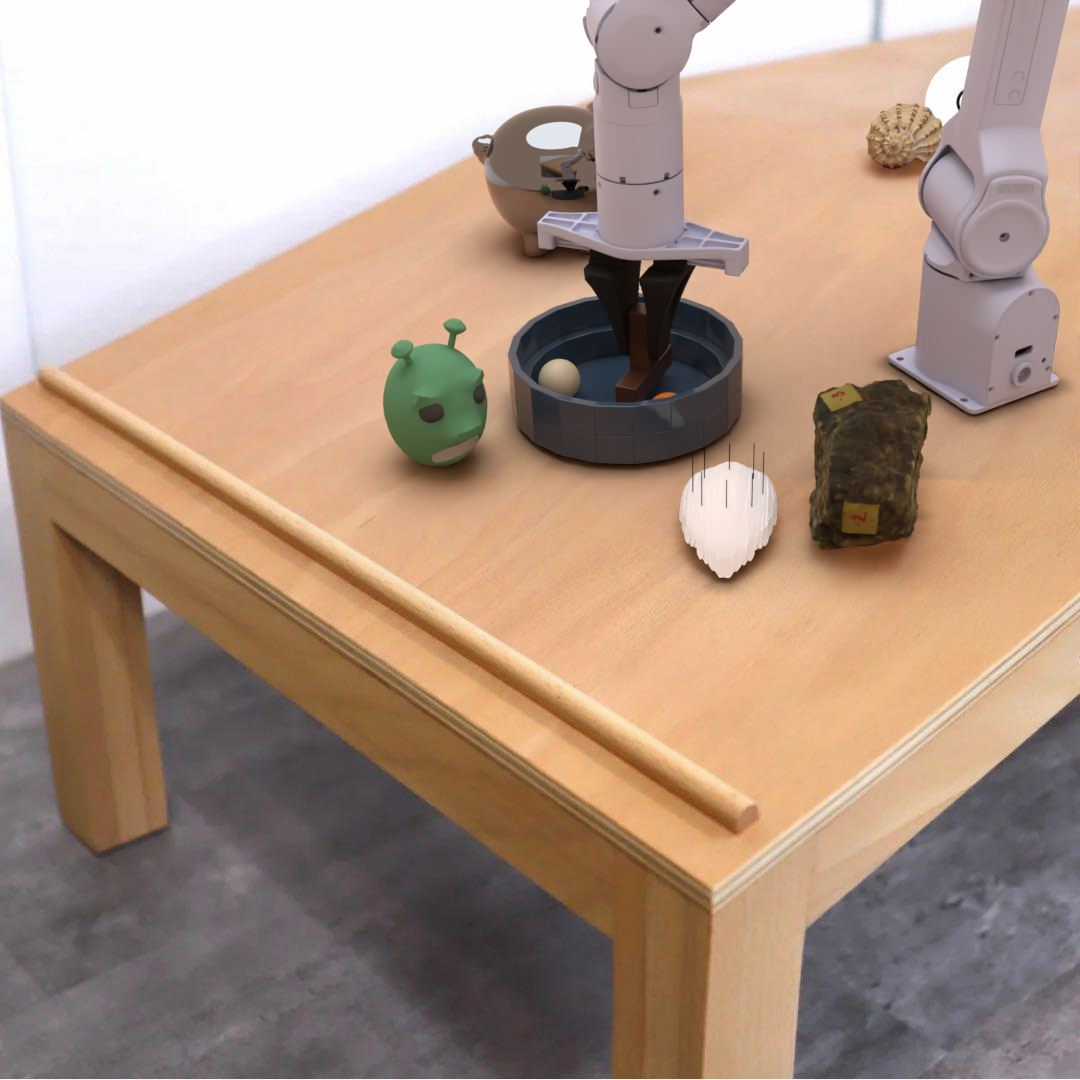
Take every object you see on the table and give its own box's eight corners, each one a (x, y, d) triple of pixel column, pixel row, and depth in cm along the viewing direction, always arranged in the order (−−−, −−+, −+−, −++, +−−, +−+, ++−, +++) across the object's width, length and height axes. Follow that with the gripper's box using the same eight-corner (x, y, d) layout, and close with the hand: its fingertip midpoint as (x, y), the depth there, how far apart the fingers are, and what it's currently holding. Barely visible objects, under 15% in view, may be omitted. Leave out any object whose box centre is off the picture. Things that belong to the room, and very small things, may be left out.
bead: (595, 377, 113) (575, 412, 114) (574, 355, 115) (554, 389, 116) (564, 369, 111) (544, 405, 112) (543, 347, 113) (523, 382, 114)
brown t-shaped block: (652, 360, 116) (650, 285, 113) (672, 363, 116) (672, 288, 112) (615, 405, 111) (612, 328, 108) (636, 409, 110) (634, 332, 107)
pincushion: (686, 471, 106) (686, 398, 103) (778, 474, 105) (781, 400, 102) (673, 580, 97) (672, 503, 94) (774, 584, 96) (777, 506, 93)
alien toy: (432, 503, 105) (416, 371, 99) (371, 456, 110) (353, 328, 105) (518, 465, 108) (507, 335, 103) (455, 420, 114) (442, 294, 108)
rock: (979, 450, 91) (843, 430, 91) (940, 589, 95) (809, 571, 95) (934, 380, 103) (813, 363, 102) (901, 507, 106) (784, 491, 106)
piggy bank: (655, 265, 132) (653, 132, 125) (475, 271, 133) (463, 139, 126) (653, 209, 141) (651, 82, 134) (485, 215, 142) (474, 89, 135)
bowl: (787, 424, 110) (789, 361, 108) (583, 496, 105) (580, 431, 102) (664, 332, 122) (663, 273, 119) (475, 392, 117) (469, 332, 114)
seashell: (859, 174, 151) (868, 169, 141) (860, 109, 150) (869, 99, 140) (942, 172, 150) (957, 167, 141) (944, 107, 149) (959, 97, 139)
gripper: (765, 156, 104) (761, 340, 112) (563, 133, 109) (572, 310, 117) (729, 199, 99) (727, 388, 107) (519, 173, 104) (532, 355, 112)
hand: (644, 351), depth 112 cm, fingers closed on brown t-shaped block, 1 cm apart
